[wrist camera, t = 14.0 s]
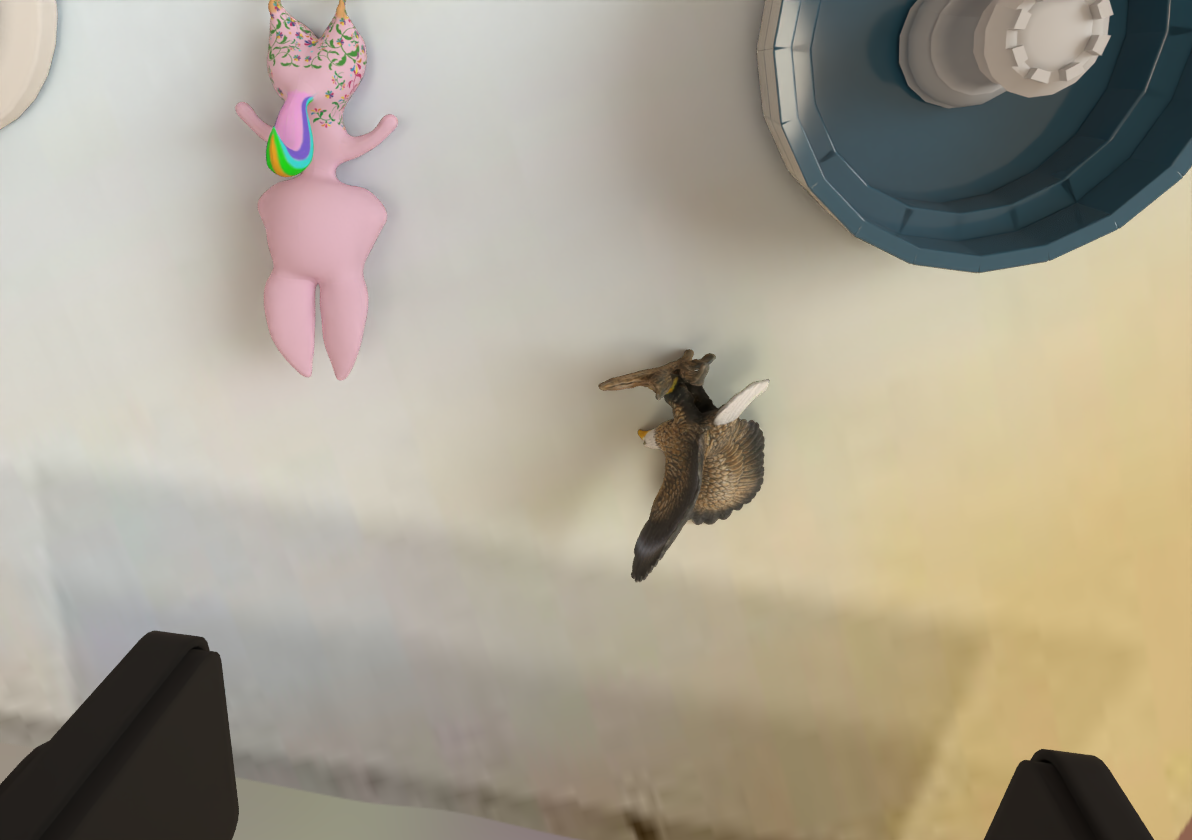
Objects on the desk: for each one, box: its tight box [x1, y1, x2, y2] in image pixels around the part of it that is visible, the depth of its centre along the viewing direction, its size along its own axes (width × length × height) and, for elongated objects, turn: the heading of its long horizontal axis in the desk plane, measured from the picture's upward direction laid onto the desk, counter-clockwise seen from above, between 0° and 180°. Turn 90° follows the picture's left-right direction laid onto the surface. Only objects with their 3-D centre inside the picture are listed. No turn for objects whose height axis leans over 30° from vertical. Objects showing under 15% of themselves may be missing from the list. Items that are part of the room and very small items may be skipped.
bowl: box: [756, 0, 1192, 273], centre depth 26 cm, size 14×14×6 cm
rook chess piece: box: [899, 0, 1113, 108], centre depth 25 cm, size 4×4×8 cm
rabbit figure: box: [235, 0, 398, 380], centre depth 30 cm, size 6×6×15 cm
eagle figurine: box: [599, 349, 770, 582], centre depth 33 cm, size 8×7×9 cm
